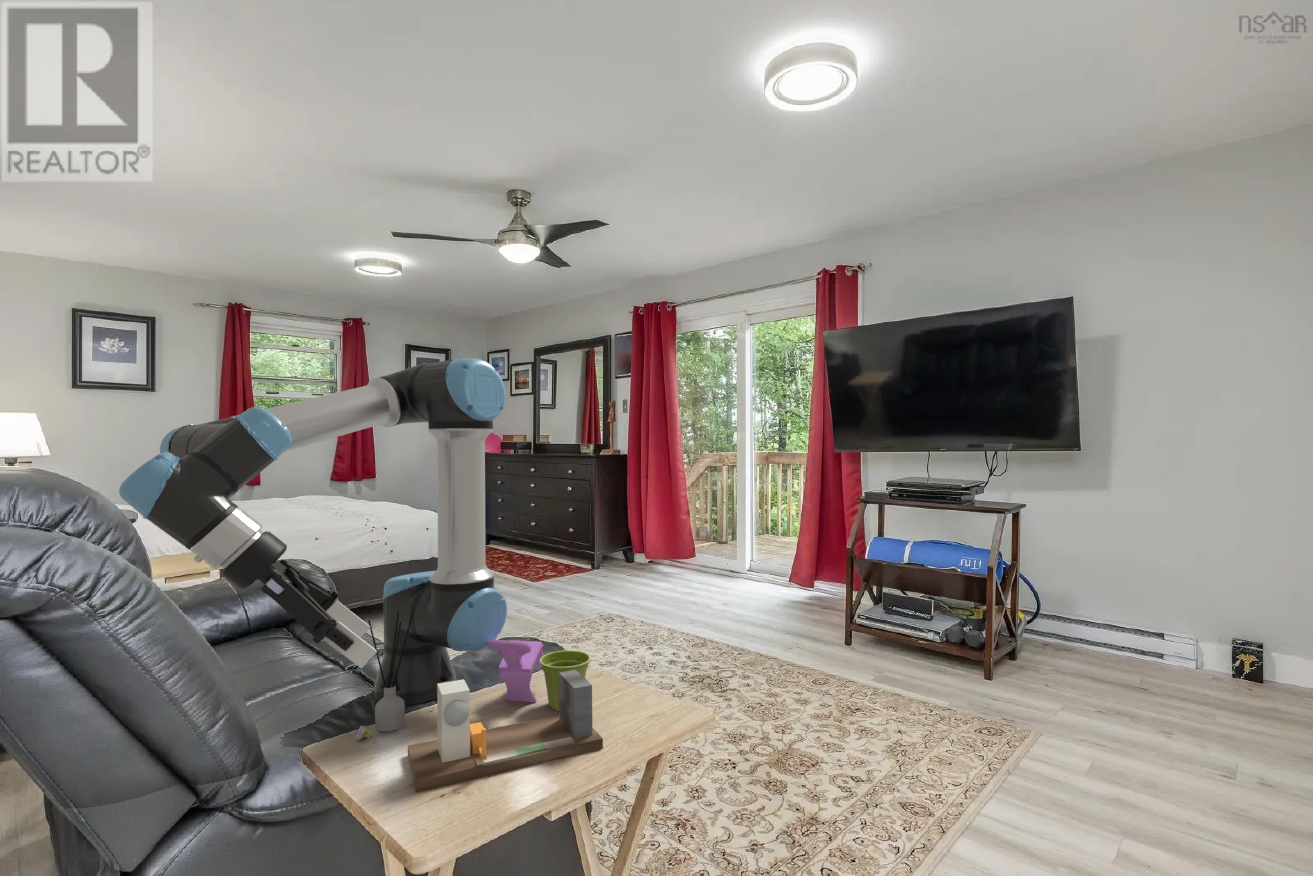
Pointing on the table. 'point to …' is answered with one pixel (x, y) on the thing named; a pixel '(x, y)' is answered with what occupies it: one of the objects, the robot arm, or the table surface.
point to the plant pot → (561, 670)
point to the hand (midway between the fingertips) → (366, 646)
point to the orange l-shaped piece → (478, 740)
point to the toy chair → (518, 666)
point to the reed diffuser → (388, 695)
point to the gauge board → (517, 741)
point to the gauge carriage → (453, 720)
